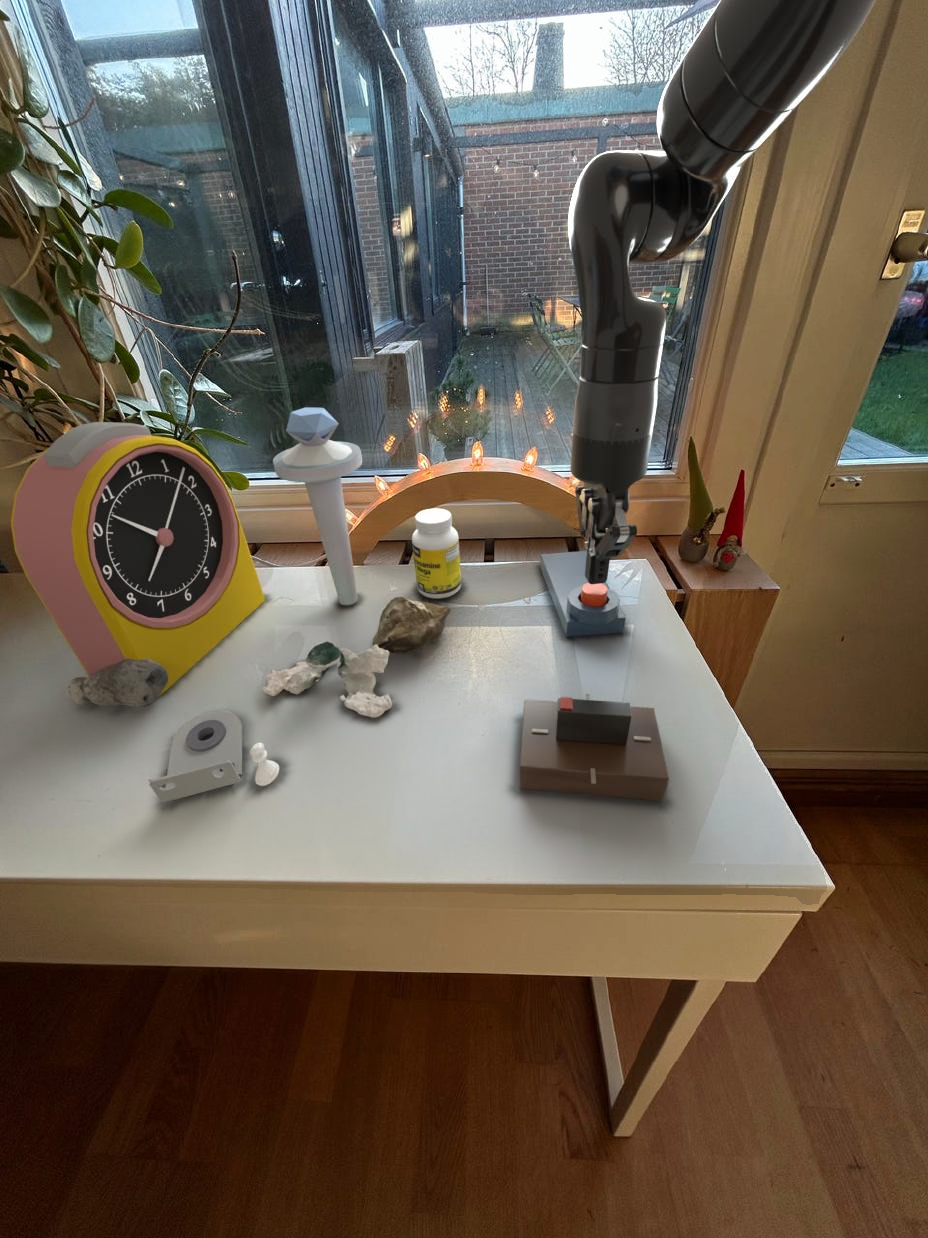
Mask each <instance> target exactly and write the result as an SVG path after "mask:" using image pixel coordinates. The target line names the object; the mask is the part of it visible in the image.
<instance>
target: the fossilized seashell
mask: <svg viewBox="0 0 928 1238" xmlns="http://www.w3.org/2000/svg"><path fill="white" fill-rule="evenodd" d="M451 608H452V607H451V606H442V605H439V604H435V603H432V602H427V601H421V600H420V601H419V600H411V599H409V598H406V597H405V596H404V597H403V596H399V597H398V596H396V597H393V598H392V599H390V600H389V602H388V603H387V604H386V606H385V608H383V610H382V612H381V614H380V618H379V624H378V627H377V631H376V633H375V635H374V636H373V638H372V643H371V644H372V645H371V646H374V645H376V644H377V646H378V647H379V648H381V649H384V650H388V651H389V654H390V653H391V654H408V653H412V652H415V651H417V650H420V649H422V648H423V647H425V646H426V645H427V644H429V643H434V642H435V641H437V640H438V639H439V638H440V637H441V636H442V634H443V632H444V628H445V625H446V619H447V618H448V617H447V616H448V615H450V612H451V610H452V609H451Z"/></svg>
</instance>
